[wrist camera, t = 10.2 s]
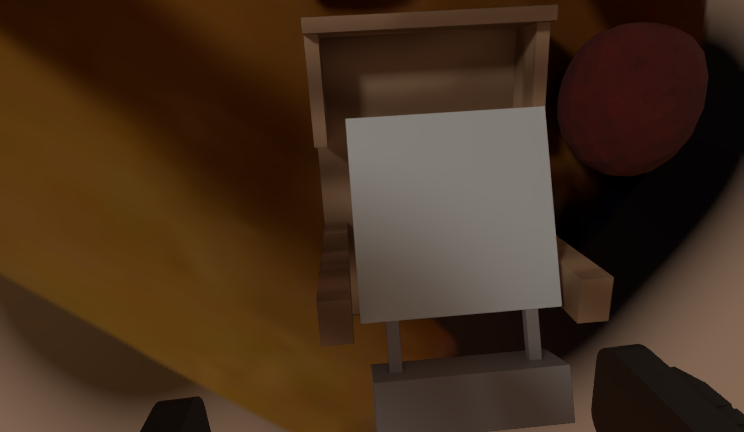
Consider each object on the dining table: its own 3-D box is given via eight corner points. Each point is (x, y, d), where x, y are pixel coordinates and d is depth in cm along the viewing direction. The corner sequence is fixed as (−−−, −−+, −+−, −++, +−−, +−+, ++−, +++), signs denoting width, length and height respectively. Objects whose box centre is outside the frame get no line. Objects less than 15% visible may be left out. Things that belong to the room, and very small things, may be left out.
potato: (588, 1, 36) (659, -21, 28) (686, 70, 38) (777, 67, 30) (511, 125, 39) (556, 138, 31) (607, 183, 41) (672, 208, 33)
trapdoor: (345, 126, 30) (345, 112, 26) (531, 114, 30) (555, 99, 27) (367, 417, 29) (369, 443, 26) (555, 399, 30) (583, 421, 26)
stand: (306, 27, 35) (283, -10, 20) (525, 15, 36) (651, -28, 21) (333, 313, 43) (330, 432, 28) (512, 297, 44) (598, 405, 29)
